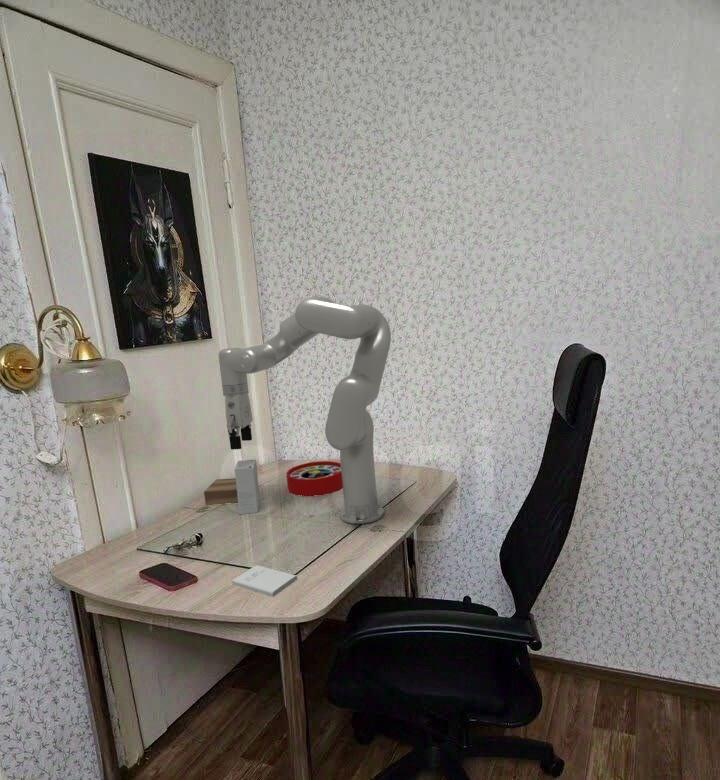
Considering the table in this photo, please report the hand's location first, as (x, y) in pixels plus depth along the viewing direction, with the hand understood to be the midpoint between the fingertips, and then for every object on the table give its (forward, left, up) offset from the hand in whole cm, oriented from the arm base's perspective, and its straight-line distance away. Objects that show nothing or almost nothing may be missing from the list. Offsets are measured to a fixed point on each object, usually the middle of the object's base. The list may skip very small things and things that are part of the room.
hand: (241, 444), depth 165 cm
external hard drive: (-44, -18, -22) cm, 52 cm away
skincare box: (0, 0, -21) cm, 21 cm away
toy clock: (+19, -18, -21) cm, 34 cm away
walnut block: (+11, +11, -21) cm, 26 cm away
